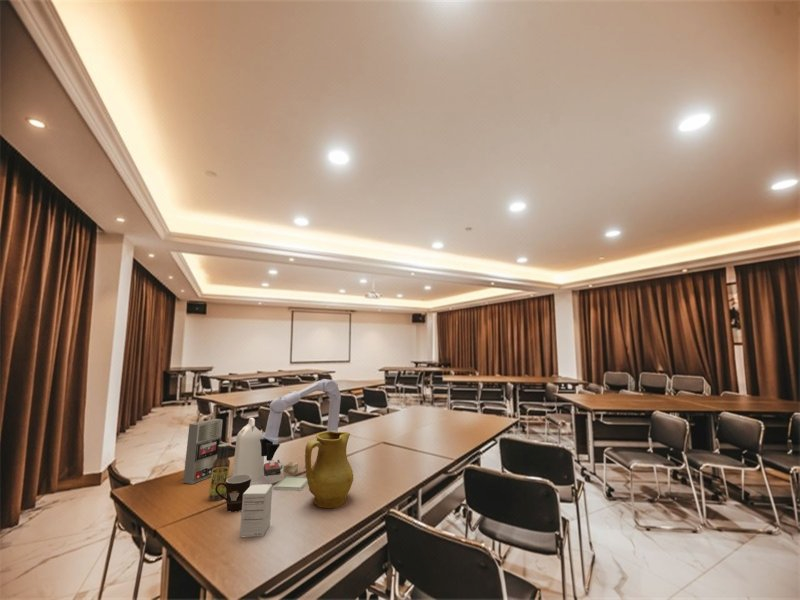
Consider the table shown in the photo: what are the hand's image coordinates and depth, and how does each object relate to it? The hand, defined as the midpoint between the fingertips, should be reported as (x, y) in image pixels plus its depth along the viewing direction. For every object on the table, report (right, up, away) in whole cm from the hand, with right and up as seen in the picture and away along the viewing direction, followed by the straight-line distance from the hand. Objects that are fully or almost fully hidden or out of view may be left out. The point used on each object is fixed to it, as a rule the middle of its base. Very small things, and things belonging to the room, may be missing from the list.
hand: (266, 458), depth 143 cm
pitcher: (+32, -7, -19) cm, 38 cm away
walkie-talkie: (-4, -14, +16) cm, 22 cm away
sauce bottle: (-13, -8, -16) cm, 22 cm away
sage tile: (+13, -10, -3) cm, 17 cm away
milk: (-12, -12, +6) cm, 18 cm away
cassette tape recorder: (-32, -12, +4) cm, 34 cm away
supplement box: (+13, -4, -40) cm, 43 cm away
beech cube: (+8, -12, +9) cm, 17 cm away
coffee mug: (-2, -7, -24) cm, 25 cm away
